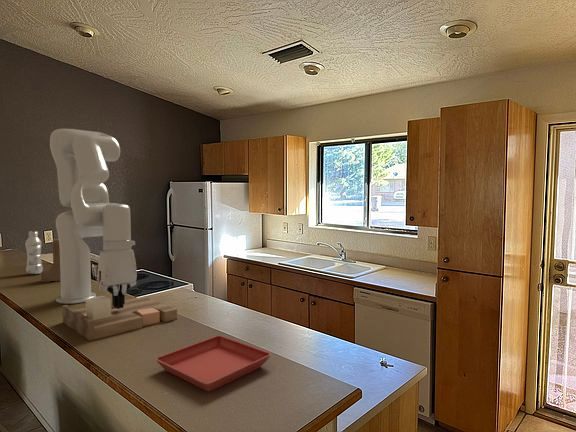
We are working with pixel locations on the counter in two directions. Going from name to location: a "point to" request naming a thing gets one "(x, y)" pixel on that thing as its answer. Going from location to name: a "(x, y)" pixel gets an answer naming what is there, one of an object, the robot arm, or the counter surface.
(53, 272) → the wooden block
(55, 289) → the counter surface
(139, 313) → the salmon block
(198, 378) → the plant saucer
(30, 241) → the plastic bottle
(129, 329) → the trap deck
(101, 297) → the cream cube
